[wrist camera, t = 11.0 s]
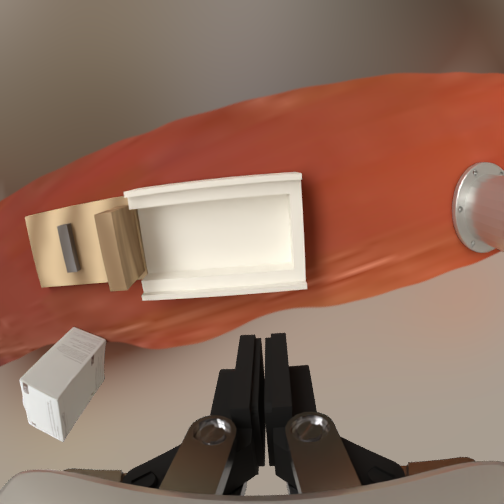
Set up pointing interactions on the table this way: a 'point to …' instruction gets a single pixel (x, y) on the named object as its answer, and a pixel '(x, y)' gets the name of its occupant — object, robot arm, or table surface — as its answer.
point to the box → (222, 236)
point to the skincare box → (63, 382)
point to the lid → (88, 244)
